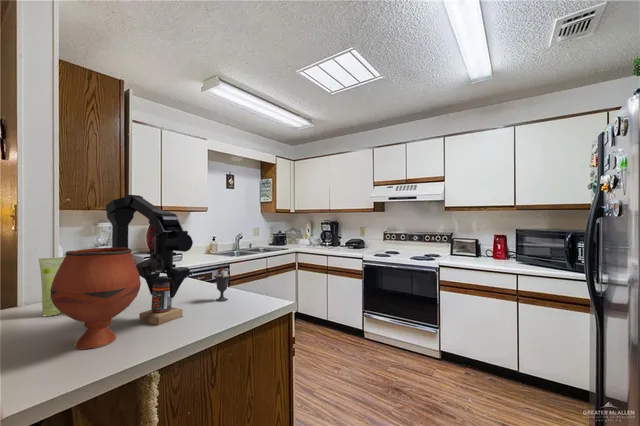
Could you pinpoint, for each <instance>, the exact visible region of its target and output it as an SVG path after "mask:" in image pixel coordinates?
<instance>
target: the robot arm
mask: <svg viewBox="0 0 640 426" xmlns="http://www.w3.org/2000/svg"><path fill="white" fill-rule="evenodd" d="M105 212H106V218H107V220H108V221H109V222H110V224H111V227H112V231H111V232H112V236H111V237H112V238H111V241H112V242H111V243H112V244H111V245H112V247H124V248H129V225H130V224H131V222H132V221H133V219H134V215H135V213H136V212H138V213H139V214H141V215H142V216H143V217H145V218H146V219H148V224H149V225H150V227H152V228H153V229H154V231H153V232H151V233H150V236H151V237H154V243H153V244H154V246H153V247H154V248H153V252H151V253H150V255H149V258H147V259H145V260H142V261H141V262H139V263H137V264H135V265H136V267H137V270H138V272H139V276H140V278H142V279H144V280H145V282H146V285H147V288H148V290H149V294H150V296H152V287H153V285H154V284H155V283H156V278H157V277H159V276H161V274H163V275H164V274H166V276H167V277H168V278H167V279H166V280H167V281H168V282H169V285H170V298H172V299H174V298H175V296H176V294H177V292H178V291H179V289H180V286H181V285H182V283H183V282H184V280H185V279H188V277H189V276H190V275H191V269H190V268H189V267H186V266H177V264H175V263H174V256H175V257H176V256H177V252H184V253H185V252H188V251H190V250H191V249H192V247H193V244H194V241H193V239H192V236H191V235H189V234H188V233H189V231H188V230H184V229H183V228H184V227H183V226H182V224H181V222H180V221H179V218H178V215H177V214H176V213H174V212H171V211H167V210H163V209H161V208H158V207H157V206H155V205H154V204H153V203H151V202H149V201H148V200H146V199H145V198H144V197H143V196H141V195H137V194H126V195H125V196H123V197H120V198H116V199H113V200H111V201H110V202H108V203H107V204H106V206H105Z"/></svg>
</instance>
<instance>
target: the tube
mask: <svg viewBox="0 0 640 426" xmlns="http://www.w3.org/2000/svg"><path fill="white" fill-rule="evenodd" d="M64 258H65V256H62V257H61V256H58V257H45V258H38V263H39V269H40V270H39V271H40V280H41V301H42V304H41V305H42V306H41V307H42V316H43V315H46V316H45V317H53V316H52V315H54V316H57V314H58V315H61V314H63V313H62V312H60V311H59V310H58V309H57V308H56V307H55V306H54V304H53V302H52V300H51V286H52V282H53V280H54V277H55V275H56V273H57V271H58V269H59V267H60V265H61V264H62V262H63V260H64ZM60 313H61V314H60Z"/></svg>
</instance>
